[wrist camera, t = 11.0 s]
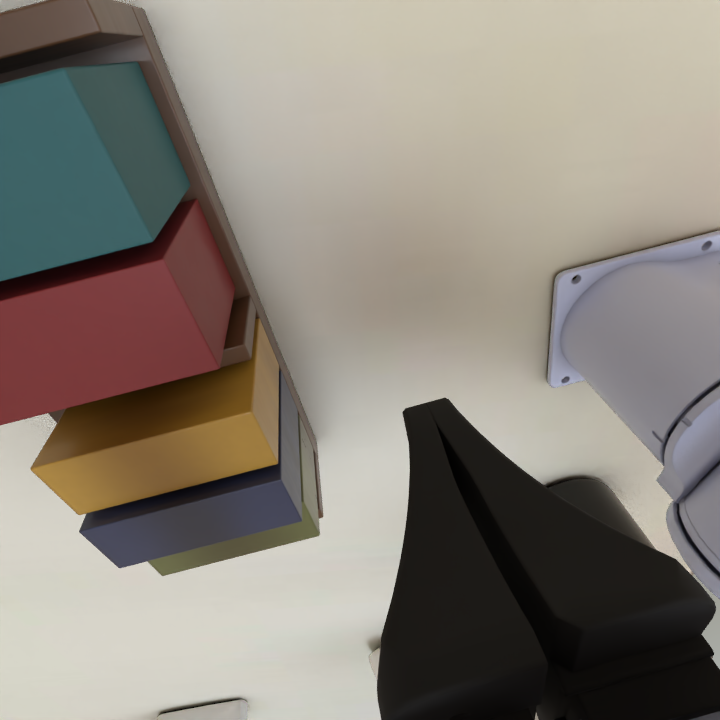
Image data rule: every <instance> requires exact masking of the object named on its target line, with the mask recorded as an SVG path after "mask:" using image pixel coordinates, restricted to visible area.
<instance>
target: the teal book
mask: <svg viewBox="0 0 720 720" xmlns="http://www.w3.org/2000/svg"><path fill="white" fill-rule="evenodd" d="M189 187H190V182H189V180H188V177H187V175H186V173H185V170H184V168H183V166H182V163H181V161H180V159H179V156H178V154H177V152H176V149H175V147H174V145H173V142H172V140H171V138H170V135H169V133H168V131H167V128H166V126H165V124H164V121H163V119H162V117H161V114H160V112H159V110H158V107H157V105H156V103H155V100H154V98H153V96H152V93H151V91H150V89H149V86H148V84H147V82H146V79H145V77H144V75H143V72H142V70H141V68H140V65H139V63H138V62H136V61H133V62H121V63H110V64H99V65H87V66H76V67H65V68H58V69H55V70H51V71H47V72H43V73H39V74H35V75H32V76H28V77H24V78H20V79H16V80H12V81H9V82H5V83H1V84H0V282H1V281H4V280H8V279H12V278H16V277H20V276H24V275H28V274H31V273H35V272H39V271H43V270H47V269H51V268H55V267H58V266H62V265H66V264H70V263H74V262H78V261H82V260H85V259H89V258H93V257H97V256H101V255H105V254H109V253H113V252H116V251H120V250H124V249H128V248H132V247H136V246H140V245H143V244H147V243H151V242H153V241H154V240H155V238H156V237H157V235H158V234H159V232H160V231H161V229H162V228H163V226H164V225H165V223H166V222H167V220H168V219H169V217H170V216H171V214H172V213H173V211H174V210H175V208H176V207H177V205H178V204H179V202H180V201H181V199H182V198H183V196H184V195H185V193H186V192H187V190H188V189H189Z"/></svg>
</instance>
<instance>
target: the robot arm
mask: <svg viewBox="0 0 720 720" xmlns="http://www.w3.org/2000/svg"><path fill="white" fill-rule="evenodd" d="M704 243H705V244H704ZM703 244H704V245H703ZM702 245H703V246H702ZM576 275H577V277H576V278H575V279H574V280H573V281H571V280H572V278H573V277H574V276H576ZM564 377H565V378H564ZM583 380H585V381H586V382H587V383H588V384H589V385H590V386H591V387H592V388H593V389H594V390H595V392H596V393H597V394H598V395H599V396H600V397H601V398H602V399H603V400H604V401H605V402H606V404H607V405H608V406H609V407H610V408H611V409H612V410H613V411H614V412H615V413H616V414H617V416H618V417H619V418H620V419H621V420H622V421H623V422H624V423H625V424H626V425H627V426H628V428H629V429H630V430H631V431H632V432H633V433H634V434H635V435H636V436H637V437H638V438H639V440H640V441H641V442H642V443H643V444H644V445H645V446H646V447H647V448H648V449H649V451H650V452H651V453H652V454H653V455H654V456H655V457H656V458H657V459H658V460H659V461H660V463H661V464H662V465H663V466H664V469H663V471H662V472H661V474H660V475H659V477H658V478H657V482H658V483H659V484H660V485H661V486H662V488H663V489H664V490H665V491H666V492H667V493H668V494H669V496H670V497H671V498H672V499H673V501H672V502H671V503H670V505H669V507H668V509H667V512H666V521H667V527H668V530H669V532H670V535H671V538H672V540H673V542H674V544H675V545H676V547H677V549H678V551H679V552H680V554H681V556H682V558H683V559H684V561H685V562H686V564H687V565H688V567H689V568H690V569H691V570H692V572H693V573H694V574H695V575H696V577H697V578H698V579H699V580H700V581H701V582H702V583H703V584H704V585H705V586H706V587H707V588H708V589H709V590H710V591H711V592H712V593H713V594H714V595H715V596H716V597H718V598H719V599H720V230H719V231H715V232H711V233H707V234H704V235H700V236H696V237H692V238H688V239H684V240H680V241H677V242H673V243H669V244H665V245H661V246H657V247H654V248H650V249H646V250H642V251H638V252H634V253H630V254H627V255H623V256H619V257H615V258H611V259H607V260H603V261H600V262H596V263H592V264H588V265H584V266H580V267H576V268H573V269H569V270H565V271H562V272H560V273H559V274H558V275H557V276H556V278H555V281H554V293H553V307H552V321H551V334H550V348H549V361H548V375H547V382H548V384H549V385H550V386H551V387H553V388H555V387H560V386H564V385H568V384H572V383H576V382H580V381H583ZM403 417H404V422H405V427H406V431H407V436H408V441H409V455H410V480H409V500H408V511H407V520H406V528H405V535H404V541H403V548H402V554H401V559H400V564H399V569H398V573H397V578H396V583H395V587H394V592H393V596H392V600H391V604H390V607H389V611H388V615H387V618H386V622H385V625H384V629H383V633H382V637H381V648H380V656H379V666H378V678H377V694H378V703H379V709H380V714H381V720H535V714H536V713H537V716H538V719H539V720H720V669H719V668H718V667H717V666H716V664H715V663H714V661H713V660H712V658H711V657H712V656H713V655H714V652H713V650H712V648H711V647H710V645H709V644H708V643H707V641H706V640H705V639H704V637H703V636H702V635H701V634H702V632H703V630H705V628H706V627H707V625H708V624H709V622H710V621H711V620H712V618H713V616H714V614H715V611H716V606H715V603H714V601H713V600H712V599H711V598H710V596H709V595H708V594H707V592H706V591H705V590H704V588H703V587H702V586H701V585H700V584H699V583H698V582H697V581H696V579H695V578H694V577H693V576H692V575H691V574H690V573H689V572H688V571H687V570H686V569H685V568H684V567H683V566H682V565H681V564H680V563H679V562H678V561H677V560H676V559H674V558H672V557H670V556H668V555H666V554H664V553H662V552H659V551H657V550H655V549H653V548H651V547H649V546H647V545H645V544H643V543H641V542H639V541H637V540H635V539H633V538H631V537H629V536H627V535H625V534H623V533H621V532H620V531H618V530H616V529H614V528H612V527H610V526H608V525H607V524H605V523H603V522H601V521H600V520H598V519H596V518H595V517H593V516H591V515H589V514H588V513H586V512H584V511H583V510H581V509H579V508H578V507H576V506H574V505H573V504H571V503H569V502H568V501H566V500H565V499H563V498H562V497H560V496H559V495H557V494H556V493H554V492H553V491H551V490H550V489H548V488H547V487H545V486H544V485H543V484H541V483H540V482H538V481H537V480H535V479H534V478H533V477H531V476H530V475H529V474H527V473H526V472H525V471H524V470H522V469H521V468H520V467H518V466H517V465H516V464H515V463H514V462H512V461H511V460H510V459H509V458H507V457H506V456H505V455H504V454H503V453H501V452H500V451H499V450H498V449H497V448H496V447H495V446H494V445H492V444H491V443H490V442H489V441H488V440H487V439H486V438H485V437H484V436H483V435H482V434H480V433H479V432H478V431H477V430H476V429H475V428H474V427H473V426H472V425H471V424H470V423H469V422H468V421H467V420H466V419H465V417H464V416H463V415H462V414H461V413H460V412H459V411H458V410H457V409H456V408H455V406H454V405H453V404H452V403H451V402H450V400H449V399H447V398H442V399H438V400H435V401H431V402H427V403H424V404H420V405H416V406H413V407H409V408H406V409H405V410H404V411H403Z"/></svg>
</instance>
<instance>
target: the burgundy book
mask: <svg viewBox="0 0 720 720" xmlns="http://www.w3.org/2000/svg"><path fill="white" fill-rule="evenodd" d="M234 293H235V286H234V284H233V282H232V279H231V277H230V275H229V272H228V270H227V268H226V265H225V263H224V261H223V258H222V256H221V253H220V251H219V249H218V246H217V244H216V242H215V239H214V237H213V235H212V232H211V230H210V228H209V225H208V223H207V221H206V218H205V216H204V214H203V211H202V209H201V207H200V204H199V202H198V200H197V199H194V200H190V201H186V202H182V203H179V204H178V205H177V207H176V208H175V210H174V211H173V213H172V214H171V216H170V217H169V219H168V220H167V222H166V223H165V225H164V226H163V228H162V229H161V231H160V232H159V234H158V235H157V237H156V238H155V240H154V241H153V242H151V243H147V244H143V245H140V246H136V247H132V248H128V249H124V250H120V251H116V252H113V253H109V254H105V255H101V256H97V257H93V258H89V259H85V260H82V261H78V262H74V263H70V264H66V265H62V266H58V267H55V268H51V269H47V270H43V271H39V272H35V273H31V274H28V275H24V276H20V277H16V278H12V279H8V280H4V281H1V282H0V425H3V424H7V423H11V422H15V421H19V420H23V419H27V418H31V417H34V416H38V415H42V414H46V413H50V412H54V411H58V410H62V409H66V408H69V407H73V406H77V405H81V404H85V403H89V402H93V401H97V400H101V399H105V398H108V397H112V396H116V395H120V394H124V393H128V392H132V391H136V390H140V389H144V388H147V387H151V386H155V385H159V384H163V383H167V382H171V381H175V380H179V379H183V378H186V377H190V376H194V375H198V374H202V373H206V372H210V371H214V370H218V369H220V365H221V360H222V355H223V350H224V345H225V339H226V334H227V329H228V324H229V319H230V313H231V308H232V303H233V298H234Z"/></svg>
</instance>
